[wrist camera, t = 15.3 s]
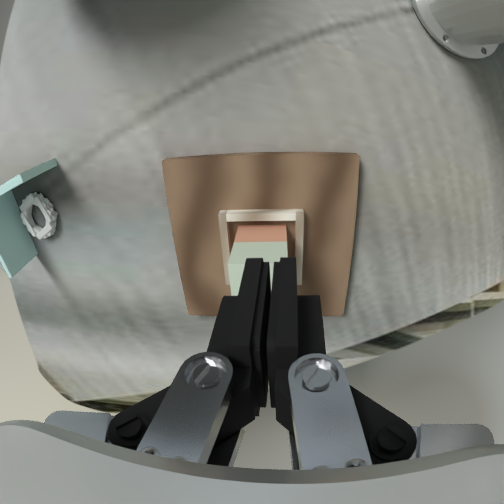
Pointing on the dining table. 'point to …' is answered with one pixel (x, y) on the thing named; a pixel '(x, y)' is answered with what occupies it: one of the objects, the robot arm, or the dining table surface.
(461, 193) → the dining table surface
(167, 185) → the walnut board
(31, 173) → the right angle wall
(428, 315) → the dining table surface
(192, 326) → the dining table surface
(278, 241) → the stack block
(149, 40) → the dining table surface
